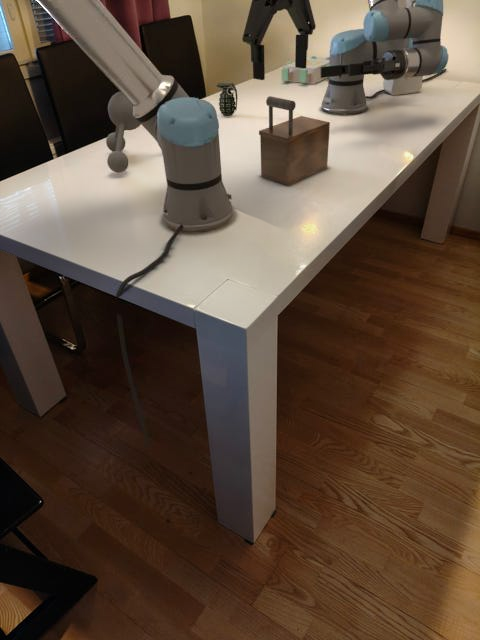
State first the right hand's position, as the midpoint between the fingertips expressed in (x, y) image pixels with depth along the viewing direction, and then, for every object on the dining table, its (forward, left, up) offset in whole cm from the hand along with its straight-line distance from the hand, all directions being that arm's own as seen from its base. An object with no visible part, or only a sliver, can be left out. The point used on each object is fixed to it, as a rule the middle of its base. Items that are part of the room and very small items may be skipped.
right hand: (334, 71), depth 132 cm
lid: (+26, -3, -8) cm, 27 cm away
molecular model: (+26, -48, -19) cm, 58 cm away
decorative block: (-78, -27, -19) cm, 85 cm away
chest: (+26, -3, -19) cm, 32 cm away
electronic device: (-61, +13, -19) cm, 65 cm away
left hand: (+31, -6, +5) cm, 31 cm away
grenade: (-19, -40, -19) cm, 48 cm away
